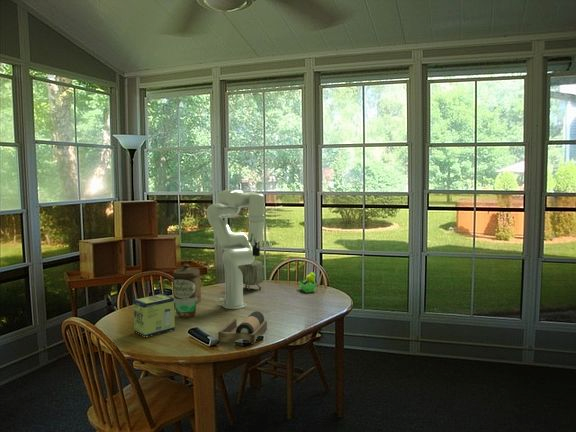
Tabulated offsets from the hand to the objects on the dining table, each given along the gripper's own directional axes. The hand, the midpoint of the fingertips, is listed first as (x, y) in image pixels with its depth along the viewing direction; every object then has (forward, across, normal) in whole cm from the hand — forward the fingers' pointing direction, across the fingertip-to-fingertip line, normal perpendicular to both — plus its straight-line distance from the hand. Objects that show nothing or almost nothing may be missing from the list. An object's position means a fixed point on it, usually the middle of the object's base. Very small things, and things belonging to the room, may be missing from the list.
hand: (256, 255), depth 237 cm
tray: (+31, +27, +4) cm, 41 cm away
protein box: (+32, +32, -38) cm, 59 cm away
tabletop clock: (+34, -54, -22) cm, 67 cm away
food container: (+33, +9, -34) cm, 48 cm away
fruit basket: (+33, -59, +14) cm, 69 cm away
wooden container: (+34, -18, -47) cm, 60 cm away
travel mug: (+27, +15, +6) cm, 31 cm away
